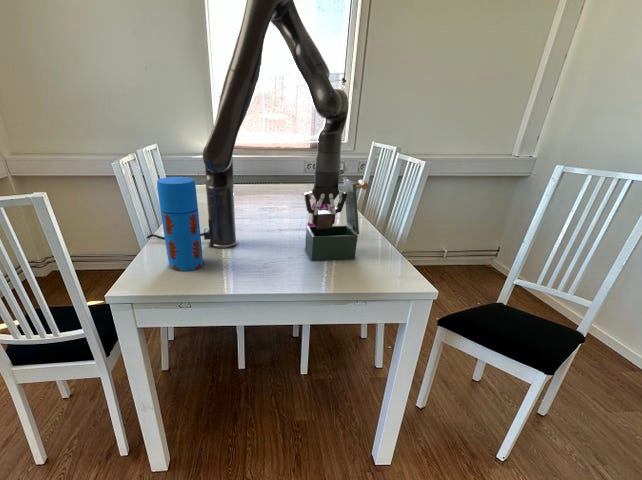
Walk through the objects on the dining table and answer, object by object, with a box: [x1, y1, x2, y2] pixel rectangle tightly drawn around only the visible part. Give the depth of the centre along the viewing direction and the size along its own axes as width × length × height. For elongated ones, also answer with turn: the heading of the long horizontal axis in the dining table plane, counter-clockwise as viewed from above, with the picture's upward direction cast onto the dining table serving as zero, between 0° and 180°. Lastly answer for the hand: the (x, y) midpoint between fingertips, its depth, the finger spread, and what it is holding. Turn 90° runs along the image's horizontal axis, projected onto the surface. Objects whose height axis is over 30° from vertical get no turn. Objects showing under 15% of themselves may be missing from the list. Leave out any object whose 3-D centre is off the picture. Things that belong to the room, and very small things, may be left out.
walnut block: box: [317, 210, 333, 229], centre depth 128 cm, size 5×5×5 cm
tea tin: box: [304, 225, 359, 262], centre depth 133 cm, size 15×12×8 cm
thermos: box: [156, 176, 204, 272], centre depth 119 cm, size 11×11×25 cm
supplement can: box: [306, 195, 330, 228], centre depth 146 cm, size 8×8×15 cm
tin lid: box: [342, 176, 369, 236], centre depth 126 cm, size 15×12×6 cm
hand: (322, 225), depth 129 cm, fingers closed on walnut block, 4 cm apart
